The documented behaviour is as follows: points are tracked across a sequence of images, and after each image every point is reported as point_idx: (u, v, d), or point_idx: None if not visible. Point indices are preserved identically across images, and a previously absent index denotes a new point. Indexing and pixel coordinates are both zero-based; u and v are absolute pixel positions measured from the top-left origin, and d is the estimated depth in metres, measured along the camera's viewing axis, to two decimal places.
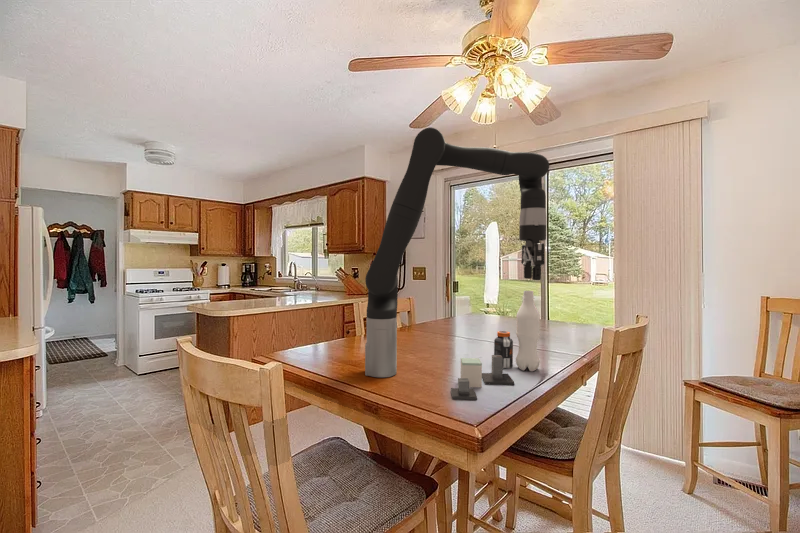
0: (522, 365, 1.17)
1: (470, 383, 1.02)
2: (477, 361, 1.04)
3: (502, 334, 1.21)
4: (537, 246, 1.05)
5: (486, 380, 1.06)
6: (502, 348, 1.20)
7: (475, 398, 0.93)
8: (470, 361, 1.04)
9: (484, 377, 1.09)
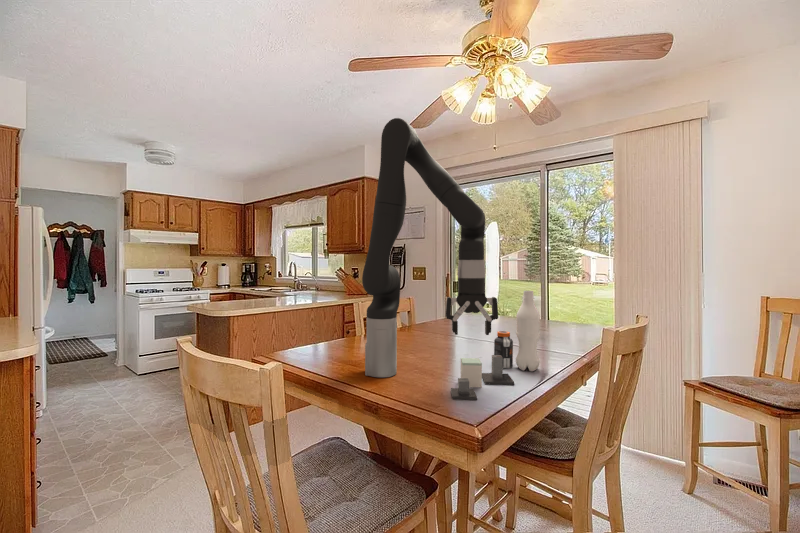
0: (522, 365, 1.17)
1: (470, 383, 1.02)
2: (477, 361, 1.04)
3: (502, 334, 1.21)
4: None
5: (486, 380, 1.06)
6: (502, 348, 1.20)
7: (475, 398, 0.93)
8: (470, 361, 1.04)
9: (484, 377, 1.09)
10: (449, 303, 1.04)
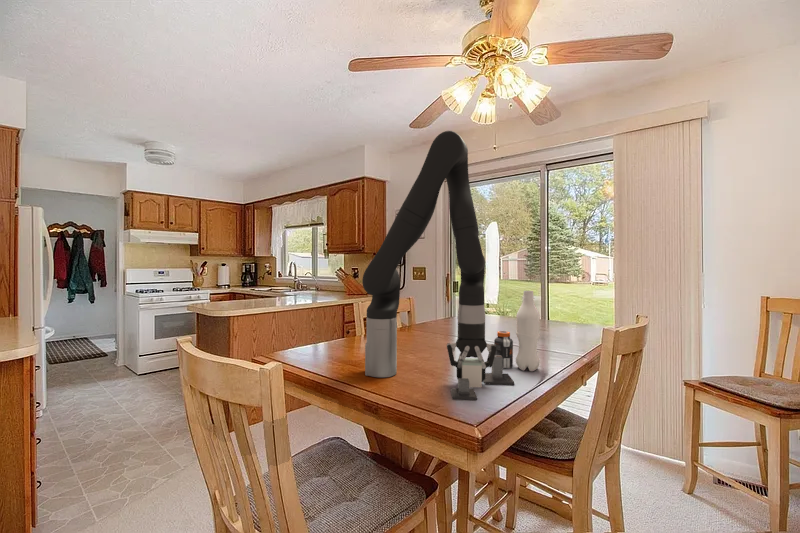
0: (522, 365, 1.17)
1: (470, 383, 1.02)
2: (477, 361, 1.04)
3: (502, 334, 1.21)
4: None
5: (486, 380, 1.06)
6: (502, 348, 1.20)
7: (475, 398, 0.93)
8: (470, 361, 1.04)
9: None
10: (450, 350, 1.04)
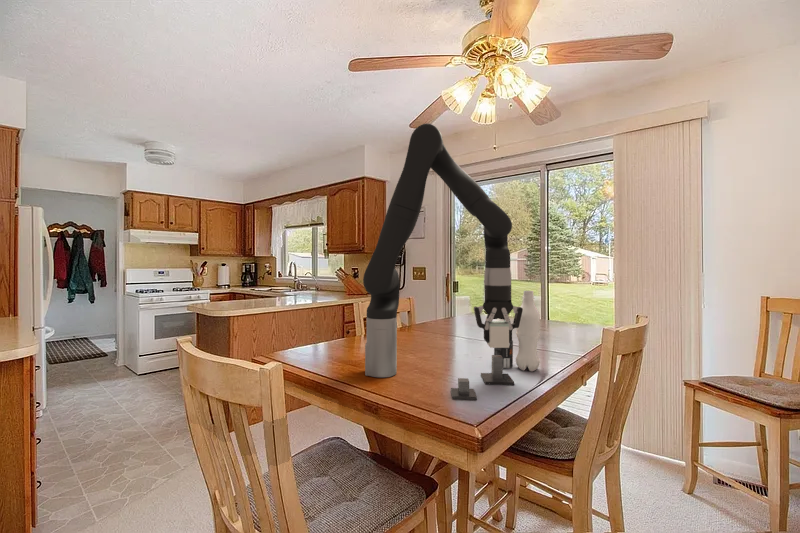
0: (522, 365, 1.17)
1: (498, 344, 1.06)
2: (504, 323, 1.07)
3: None
4: None
5: (486, 380, 1.06)
6: (502, 348, 1.20)
7: (475, 398, 0.93)
8: (497, 323, 1.07)
9: (484, 377, 1.09)
10: (477, 312, 1.07)
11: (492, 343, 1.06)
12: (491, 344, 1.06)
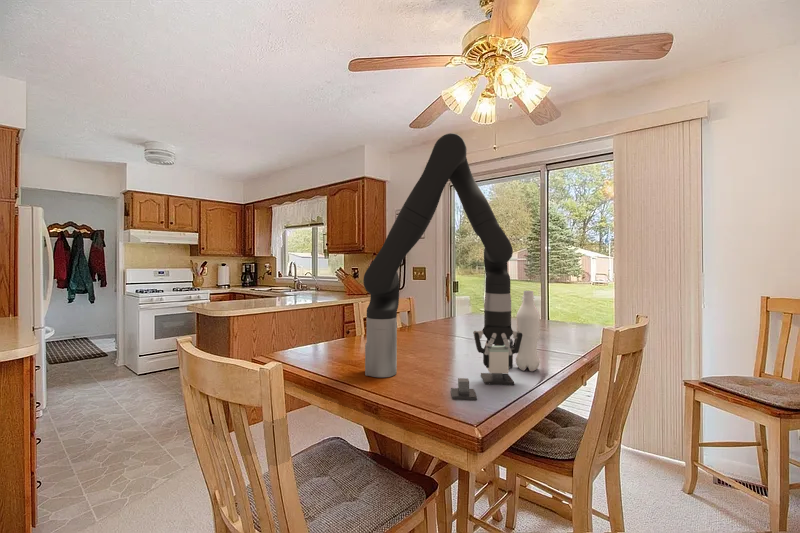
0: (522, 365, 1.17)
1: (497, 369, 1.06)
2: (503, 348, 1.07)
3: None
4: None
5: (486, 380, 1.06)
6: None
7: (475, 398, 0.93)
8: (497, 348, 1.07)
9: (484, 377, 1.09)
10: (477, 337, 1.07)
11: (492, 368, 1.06)
12: (491, 369, 1.06)
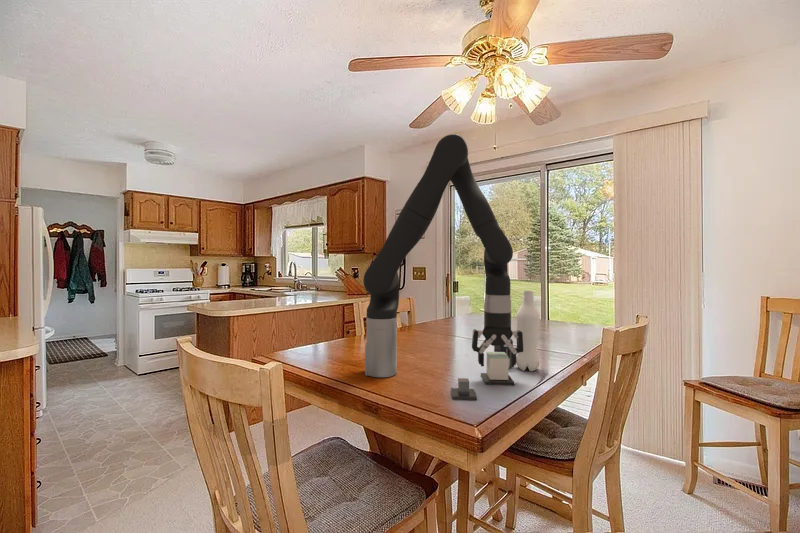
0: (522, 365, 1.17)
1: (497, 376, 1.06)
2: (503, 354, 1.08)
3: None
4: None
5: (486, 380, 1.06)
6: (502, 348, 1.20)
7: (475, 398, 0.93)
8: (497, 354, 1.08)
9: (484, 377, 1.09)
10: (476, 336, 1.07)
11: (491, 375, 1.06)
12: (490, 376, 1.06)
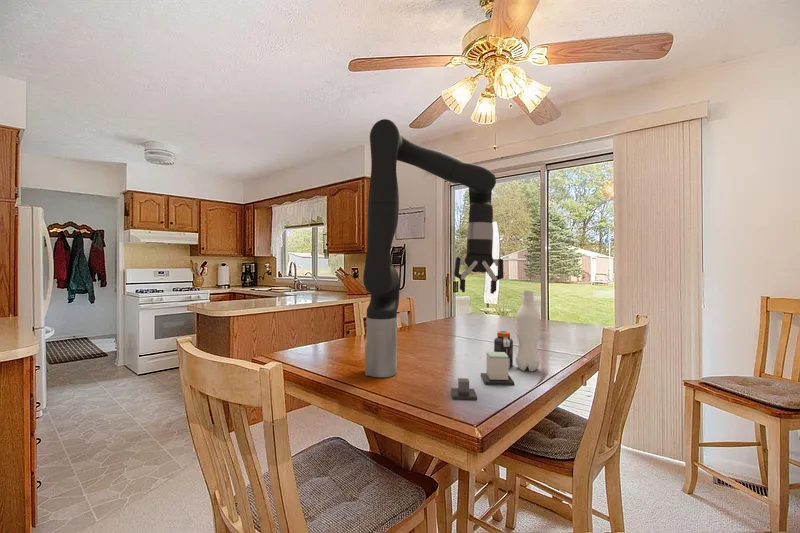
0: (522, 365, 1.17)
1: (497, 376, 1.06)
2: (503, 354, 1.08)
3: (502, 334, 1.21)
4: None
5: (486, 380, 1.06)
6: (502, 348, 1.20)
7: (475, 398, 0.93)
8: (497, 354, 1.08)
9: (484, 377, 1.09)
10: (458, 262, 1.11)
11: (491, 375, 1.06)
12: (490, 376, 1.06)
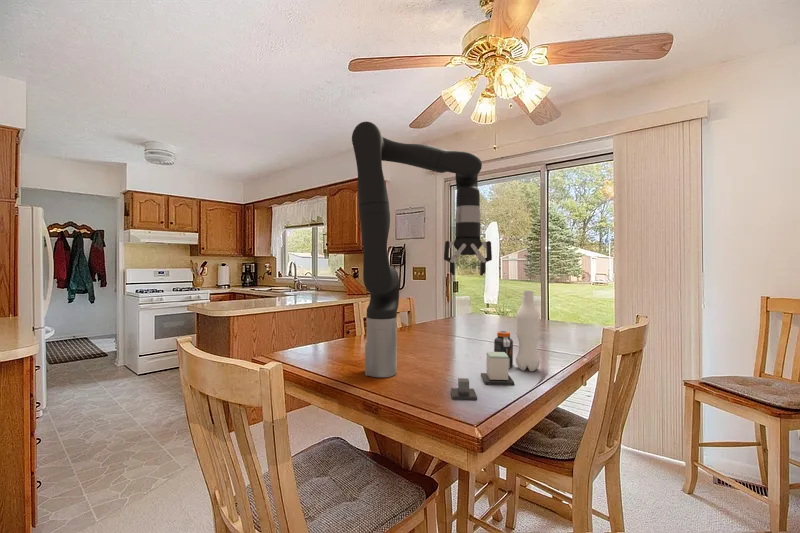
0: (522, 365, 1.17)
1: (497, 376, 1.06)
2: (503, 354, 1.08)
3: (502, 334, 1.21)
4: None
5: (486, 380, 1.06)
6: (502, 348, 1.20)
7: (475, 398, 0.93)
8: (497, 354, 1.08)
9: (484, 377, 1.09)
10: (447, 246, 1.13)
11: (491, 375, 1.06)
12: (490, 376, 1.06)
